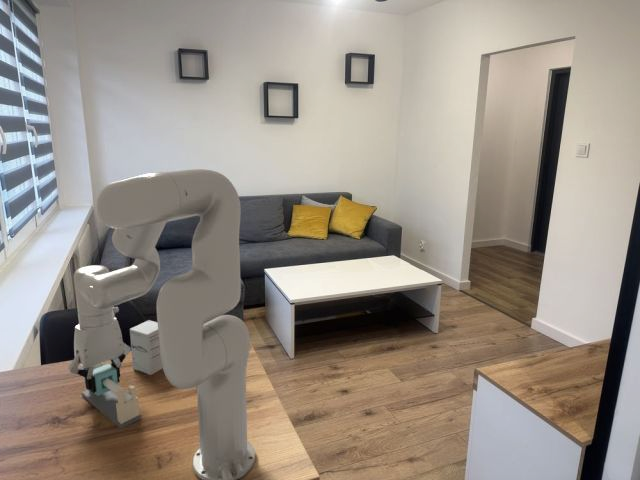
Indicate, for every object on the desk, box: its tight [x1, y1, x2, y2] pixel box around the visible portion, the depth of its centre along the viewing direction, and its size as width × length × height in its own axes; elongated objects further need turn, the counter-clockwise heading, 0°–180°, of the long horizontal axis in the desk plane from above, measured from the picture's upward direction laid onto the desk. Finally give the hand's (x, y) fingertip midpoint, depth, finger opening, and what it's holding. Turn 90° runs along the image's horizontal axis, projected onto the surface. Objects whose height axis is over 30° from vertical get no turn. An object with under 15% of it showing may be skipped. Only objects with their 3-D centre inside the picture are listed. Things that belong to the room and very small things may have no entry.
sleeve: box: [93, 363, 119, 396], centre depth 109 cm, size 4×5×5 cm
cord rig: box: [80, 363, 142, 429], centre depth 108 cm, size 20×5×8 cm, turn 51°
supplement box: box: [129, 319, 163, 376], centre depth 126 cm, size 7×7×13 cm
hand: (103, 385), depth 109 cm, fingers closed on sleeve, 5 cm apart
